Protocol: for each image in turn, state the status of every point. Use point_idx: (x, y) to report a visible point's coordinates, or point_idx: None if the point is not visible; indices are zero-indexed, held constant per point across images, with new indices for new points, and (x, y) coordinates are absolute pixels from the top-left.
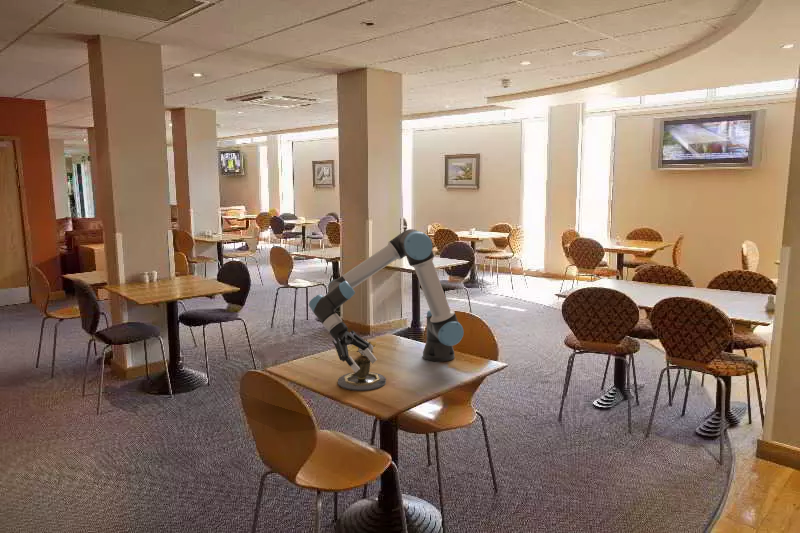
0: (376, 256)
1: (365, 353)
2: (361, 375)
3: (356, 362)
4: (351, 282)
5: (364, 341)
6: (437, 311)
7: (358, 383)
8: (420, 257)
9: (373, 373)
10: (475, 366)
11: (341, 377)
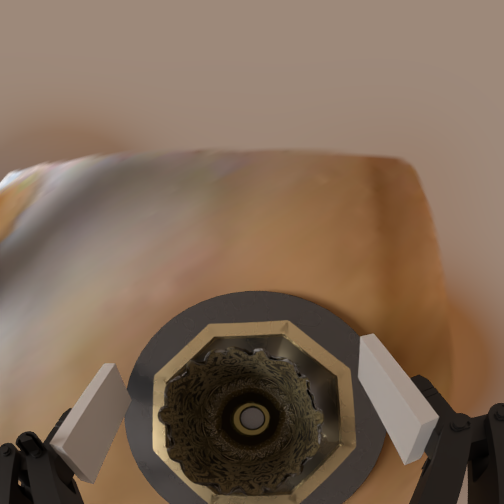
0: None
1: (97, 459)
2: (287, 392)
3: (225, 482)
4: None
5: (3, 486)
6: None
7: (339, 369)
8: None
9: (153, 401)
10: (11, 194)
11: None
